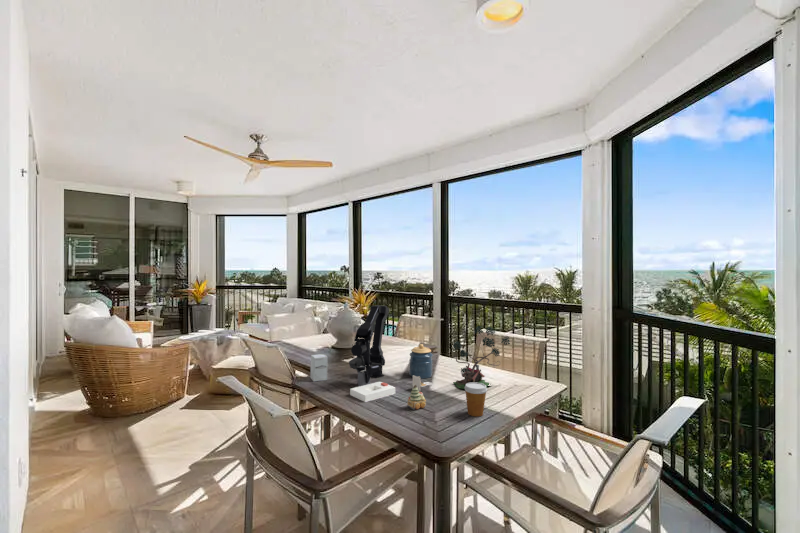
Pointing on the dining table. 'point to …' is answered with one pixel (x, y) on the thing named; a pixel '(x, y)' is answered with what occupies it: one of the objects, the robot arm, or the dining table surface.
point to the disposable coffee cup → (475, 398)
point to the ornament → (416, 399)
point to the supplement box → (318, 367)
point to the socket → (372, 391)
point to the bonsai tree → (473, 374)
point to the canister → (421, 362)
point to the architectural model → (418, 382)
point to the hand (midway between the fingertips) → (364, 382)
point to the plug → (362, 378)
